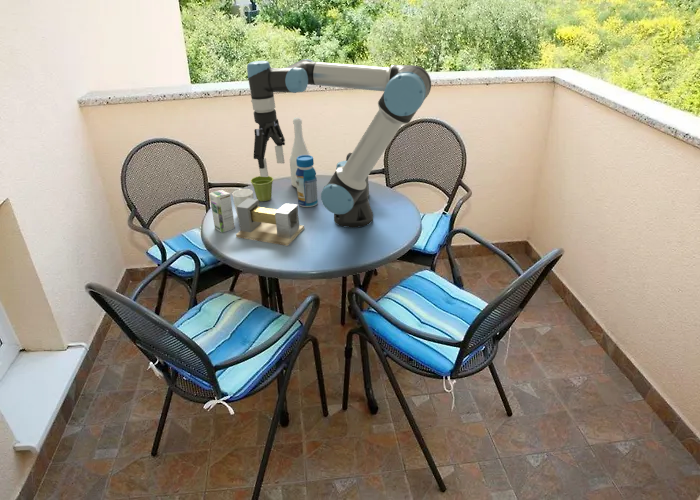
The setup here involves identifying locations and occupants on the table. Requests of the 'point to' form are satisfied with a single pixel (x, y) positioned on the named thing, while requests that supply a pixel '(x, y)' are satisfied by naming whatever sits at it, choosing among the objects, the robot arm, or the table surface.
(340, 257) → the table surface
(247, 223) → the socket
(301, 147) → the wine bottle
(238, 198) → the white cup
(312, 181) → the beverage bottle
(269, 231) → the board
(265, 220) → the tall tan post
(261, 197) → the plant pot
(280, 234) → the grey rectangular block
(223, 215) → the syrup box
